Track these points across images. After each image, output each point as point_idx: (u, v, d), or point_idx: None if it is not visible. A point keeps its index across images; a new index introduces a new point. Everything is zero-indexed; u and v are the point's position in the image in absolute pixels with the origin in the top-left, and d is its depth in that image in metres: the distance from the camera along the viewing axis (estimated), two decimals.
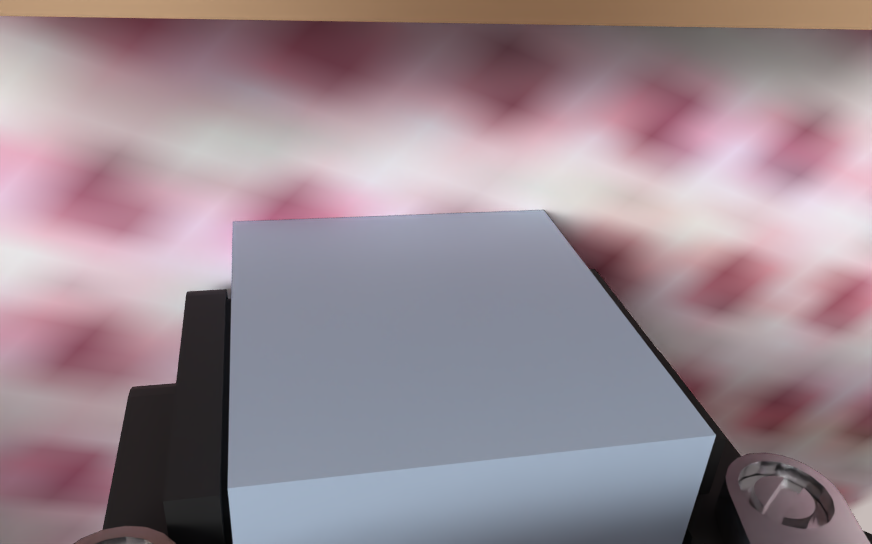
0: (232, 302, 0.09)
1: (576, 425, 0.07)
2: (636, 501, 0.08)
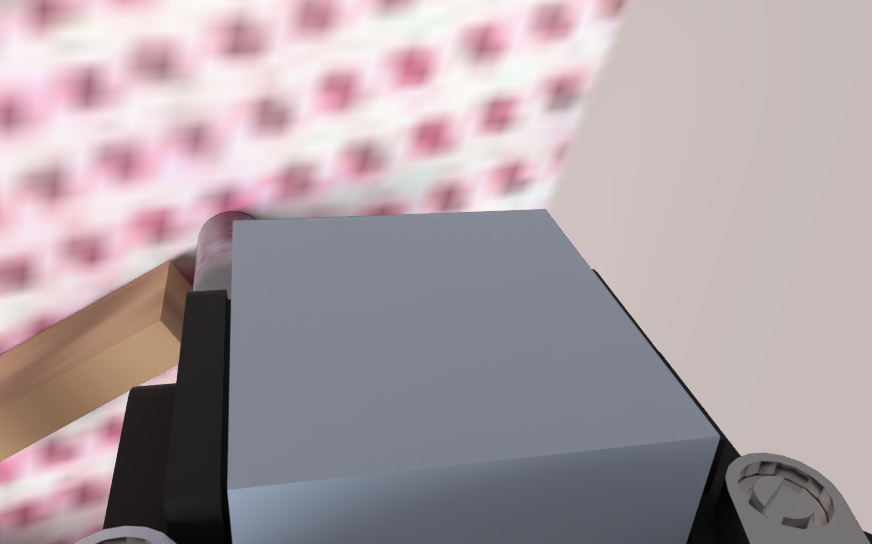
0: (232, 302, 0.09)
1: (580, 427, 0.07)
2: (639, 503, 0.08)
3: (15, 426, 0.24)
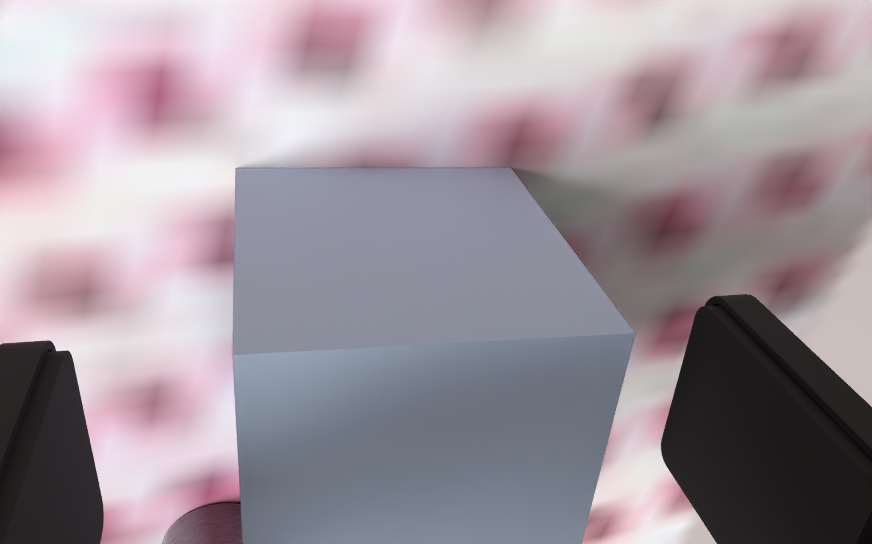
0: (235, 227, 0.10)
1: (521, 323, 0.09)
2: (570, 389, 0.09)
3: None
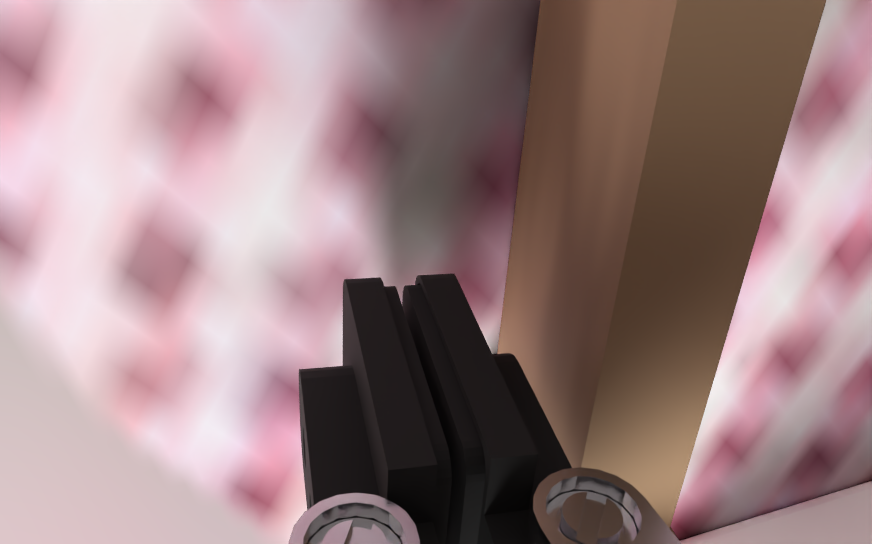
0: None
1: None
2: None
3: (661, 356, 0.10)
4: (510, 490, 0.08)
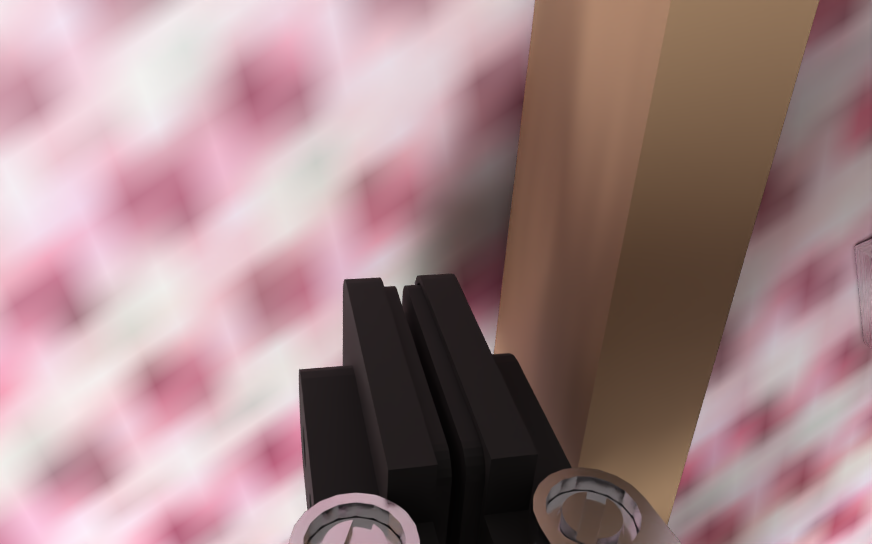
0: None
1: None
2: None
3: (656, 361, 0.10)
4: (510, 490, 0.08)
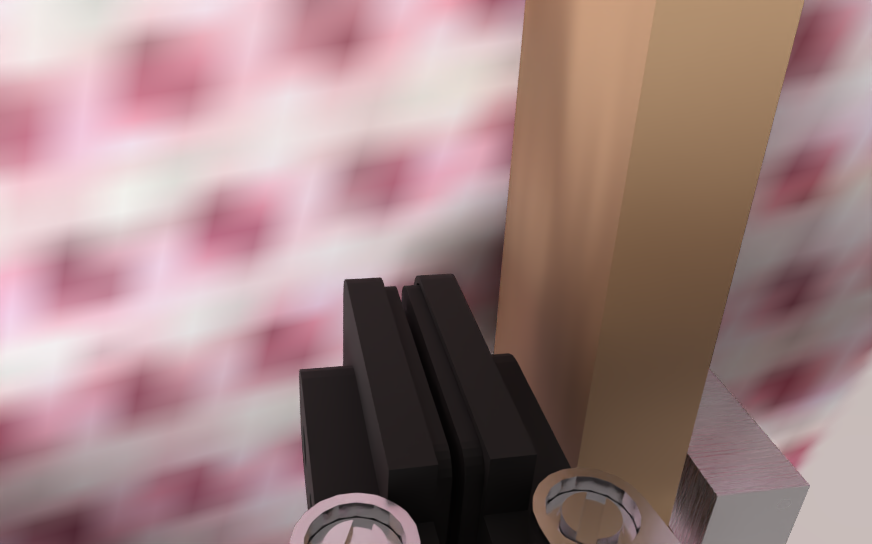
0: None
1: None
2: None
3: (653, 357, 0.10)
4: (509, 490, 0.08)
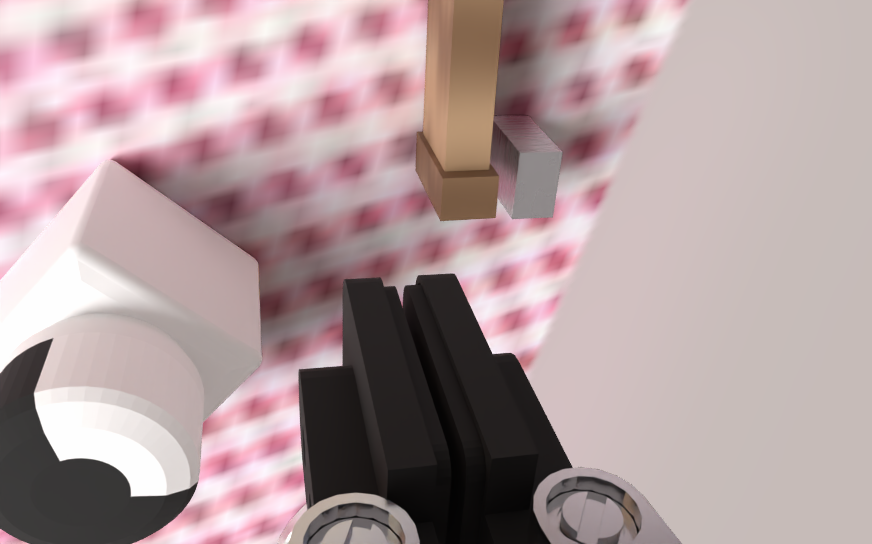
0: None
1: None
2: None
3: (473, 73, 0.25)
4: (510, 490, 0.08)
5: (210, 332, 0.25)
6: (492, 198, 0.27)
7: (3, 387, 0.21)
